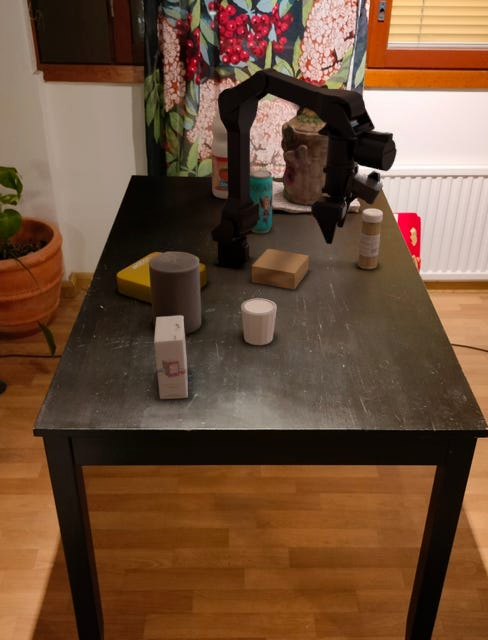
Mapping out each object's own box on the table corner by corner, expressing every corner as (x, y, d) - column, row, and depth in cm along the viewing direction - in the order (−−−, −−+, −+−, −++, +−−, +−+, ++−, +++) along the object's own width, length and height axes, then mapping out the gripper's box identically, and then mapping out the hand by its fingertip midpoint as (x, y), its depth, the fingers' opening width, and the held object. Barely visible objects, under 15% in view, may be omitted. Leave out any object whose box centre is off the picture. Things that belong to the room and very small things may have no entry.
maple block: (251, 282, 159) (251, 265, 157) (267, 264, 167) (267, 248, 165) (294, 289, 156) (294, 273, 154) (307, 271, 164) (308, 255, 162)
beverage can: (258, 236, 181) (259, 178, 173) (244, 229, 184) (245, 172, 176) (276, 231, 184) (277, 174, 176) (262, 224, 187) (263, 168, 179)
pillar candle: (163, 340, 137) (158, 270, 129) (146, 318, 145) (140, 250, 137) (209, 329, 141) (207, 260, 133) (190, 308, 149) (187, 241, 140)
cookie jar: (346, 184, 215) (356, 71, 198) (362, 214, 194) (374, 92, 177) (265, 184, 214) (267, 71, 196) (272, 215, 193) (275, 92, 176)
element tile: (156, 267, 165) (155, 248, 162) (210, 282, 159) (209, 263, 156) (114, 292, 154) (112, 272, 151) (170, 310, 148) (169, 289, 145)
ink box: (159, 372, 128) (155, 314, 122) (187, 371, 129) (184, 313, 122) (158, 400, 121) (153, 340, 115) (187, 398, 121) (184, 339, 115)
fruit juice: (232, 186, 212) (232, 88, 197) (251, 195, 206) (251, 94, 191) (206, 192, 207) (203, 92, 192) (223, 202, 201) (222, 99, 186)
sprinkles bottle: (371, 260, 169) (377, 206, 162) (380, 268, 166) (386, 213, 158) (353, 263, 168) (359, 209, 160) (362, 271, 164) (368, 216, 157)
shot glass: (272, 348, 135) (273, 316, 132) (237, 344, 136) (237, 312, 133) (278, 330, 141) (279, 299, 137) (244, 327, 142) (245, 295, 138)
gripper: (371, 180, 129) (363, 259, 138) (390, 152, 144) (382, 224, 152) (312, 172, 132) (307, 250, 141) (337, 145, 147) (331, 217, 155)
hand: (334, 235), depth 147 cm, fingers open, 9 cm apart
